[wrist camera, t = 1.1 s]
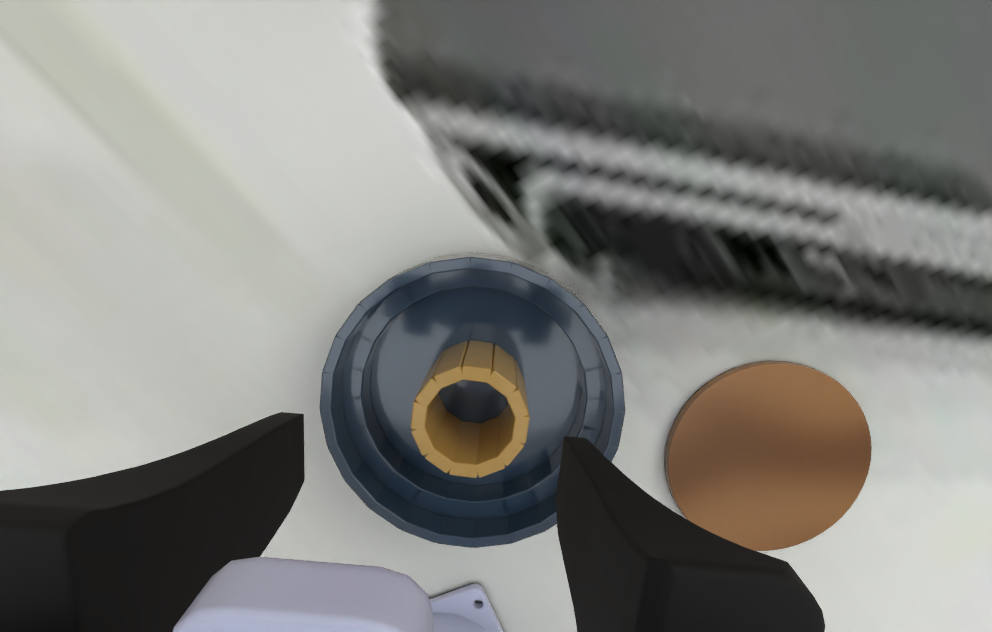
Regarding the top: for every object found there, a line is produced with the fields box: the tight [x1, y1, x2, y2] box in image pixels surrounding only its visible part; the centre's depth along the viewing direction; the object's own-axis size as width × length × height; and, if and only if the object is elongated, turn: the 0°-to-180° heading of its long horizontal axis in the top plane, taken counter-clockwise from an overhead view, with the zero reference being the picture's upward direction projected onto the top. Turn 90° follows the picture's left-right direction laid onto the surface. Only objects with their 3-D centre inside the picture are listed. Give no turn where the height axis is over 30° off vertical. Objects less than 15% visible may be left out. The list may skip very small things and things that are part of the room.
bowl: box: [320, 252, 625, 548], centre depth 23 cm, size 13×13×4 cm
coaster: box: [665, 361, 871, 551], centre depth 25 cm, size 10×10×1 cm
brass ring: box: [411, 340, 530, 478], centre depth 22 cm, size 5×5×4 cm
